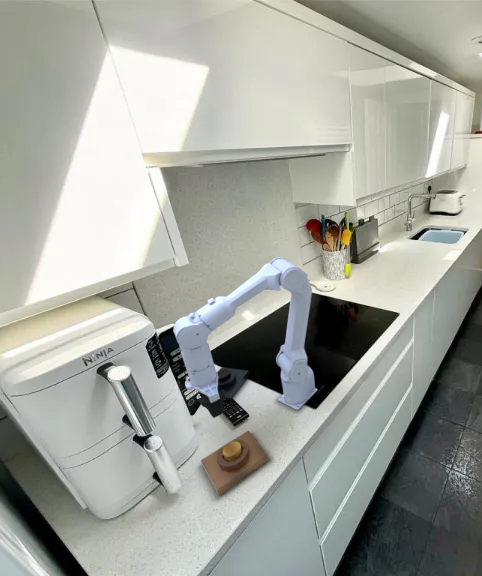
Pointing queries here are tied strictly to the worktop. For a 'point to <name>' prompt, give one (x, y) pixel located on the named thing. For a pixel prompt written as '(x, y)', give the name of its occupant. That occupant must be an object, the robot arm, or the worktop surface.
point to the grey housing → (233, 382)
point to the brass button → (232, 451)
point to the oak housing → (234, 463)
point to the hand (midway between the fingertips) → (212, 406)
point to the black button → (223, 375)
